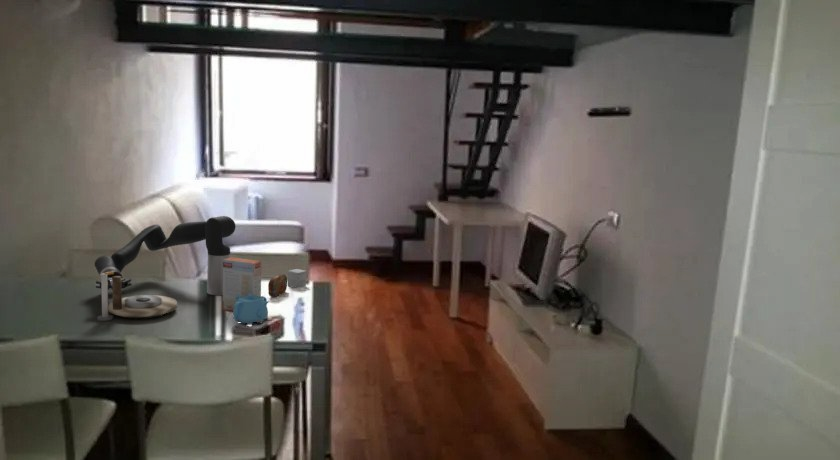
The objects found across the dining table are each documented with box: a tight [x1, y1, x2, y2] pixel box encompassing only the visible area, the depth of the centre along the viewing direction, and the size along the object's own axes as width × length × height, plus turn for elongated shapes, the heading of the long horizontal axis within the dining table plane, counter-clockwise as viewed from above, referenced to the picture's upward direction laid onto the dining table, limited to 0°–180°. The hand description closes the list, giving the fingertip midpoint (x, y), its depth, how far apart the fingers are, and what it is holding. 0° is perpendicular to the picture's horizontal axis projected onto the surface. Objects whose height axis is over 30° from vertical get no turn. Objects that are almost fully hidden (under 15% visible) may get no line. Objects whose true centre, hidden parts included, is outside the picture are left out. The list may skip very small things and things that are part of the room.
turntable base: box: [119, 313, 167, 320], centre depth 244 cm, size 18×18×2 cm
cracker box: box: [222, 256, 262, 313], centre depth 251 cm, size 14×6×21 cm, turn 71°
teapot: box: [232, 294, 270, 324], centre depth 239 cm, size 13×14×11 cm
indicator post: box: [96, 271, 114, 322], centre depth 232 cm, size 6×5×17 cm
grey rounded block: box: [287, 268, 307, 289], centre depth 295 cm, size 6×6×7 cm
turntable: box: [108, 276, 178, 317], centre depth 243 cm, size 24×24×14 cm
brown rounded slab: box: [267, 274, 288, 298], centre depth 279 cm, size 15×3×8 cm, turn 168°
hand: (116, 288), depth 237 cm, fingers closed
